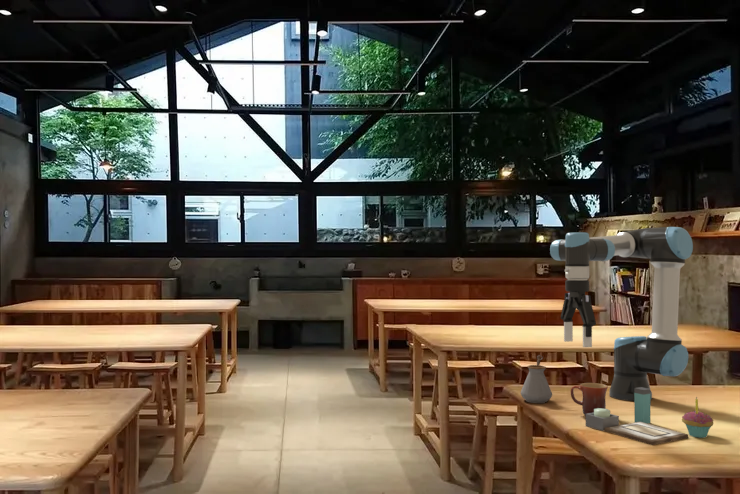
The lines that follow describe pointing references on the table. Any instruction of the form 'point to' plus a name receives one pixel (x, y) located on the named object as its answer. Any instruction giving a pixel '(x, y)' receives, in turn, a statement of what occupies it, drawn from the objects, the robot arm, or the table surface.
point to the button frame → (601, 421)
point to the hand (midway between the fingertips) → (577, 344)
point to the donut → (697, 422)
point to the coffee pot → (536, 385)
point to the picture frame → (646, 433)
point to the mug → (591, 396)
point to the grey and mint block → (642, 405)
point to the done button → (602, 412)
